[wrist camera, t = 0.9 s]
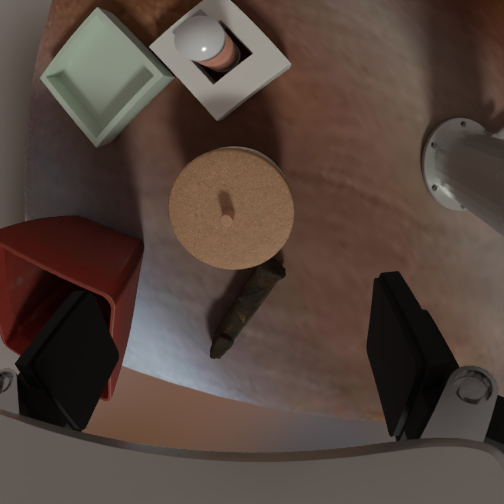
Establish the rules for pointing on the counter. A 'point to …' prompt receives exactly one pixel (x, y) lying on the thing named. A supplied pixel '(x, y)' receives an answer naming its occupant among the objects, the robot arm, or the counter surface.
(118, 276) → the plant pot
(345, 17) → the counter surface
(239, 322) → the hand tool
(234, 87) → the block
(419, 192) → the counter surface
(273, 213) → the lidded bowl
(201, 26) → the cylinder
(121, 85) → the parts tray
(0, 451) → the robot arm
